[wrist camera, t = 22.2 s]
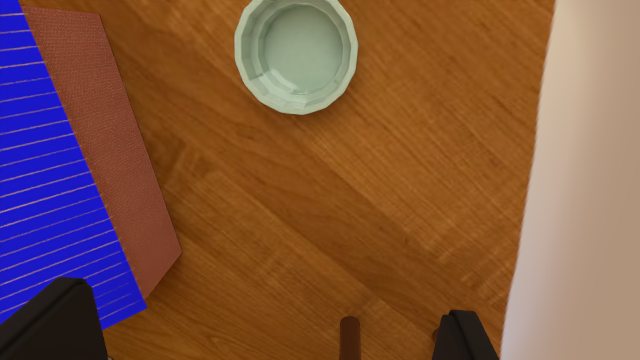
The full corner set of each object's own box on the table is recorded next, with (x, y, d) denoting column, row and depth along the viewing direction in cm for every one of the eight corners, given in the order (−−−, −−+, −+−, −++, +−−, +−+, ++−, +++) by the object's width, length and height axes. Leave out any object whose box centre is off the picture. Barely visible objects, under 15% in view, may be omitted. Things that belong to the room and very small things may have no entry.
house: (65, 267, 32) (-75, 380, 22) (-49, 37, 25) (-342, 35, 15) (186, 254, 31) (101, 369, 20) (101, 7, 24) (-102, -21, 13)
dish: (361, -3, 23) (364, -13, 18) (349, 106, 25) (350, 119, 21) (254, -12, 23) (233, -23, 19) (253, 97, 25) (235, 108, 21)
